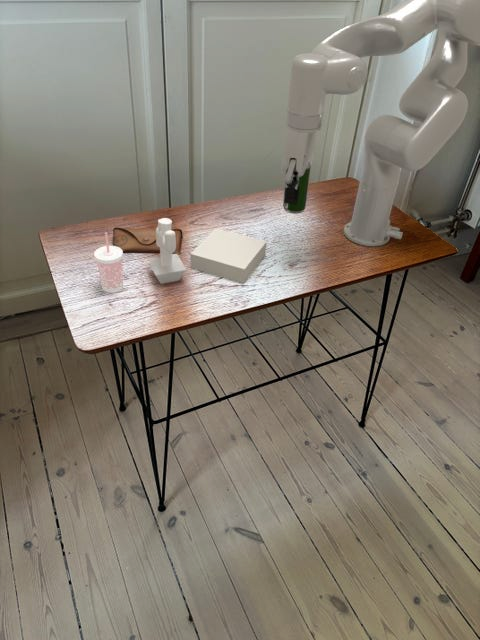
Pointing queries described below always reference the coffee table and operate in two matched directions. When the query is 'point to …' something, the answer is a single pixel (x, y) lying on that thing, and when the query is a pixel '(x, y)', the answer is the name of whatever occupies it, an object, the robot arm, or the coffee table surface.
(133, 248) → the sunglasses case
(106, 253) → the beverage cup
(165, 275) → the figurine
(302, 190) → the beer can
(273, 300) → the coffee table surface
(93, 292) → the coffee table surface
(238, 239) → the riser block
